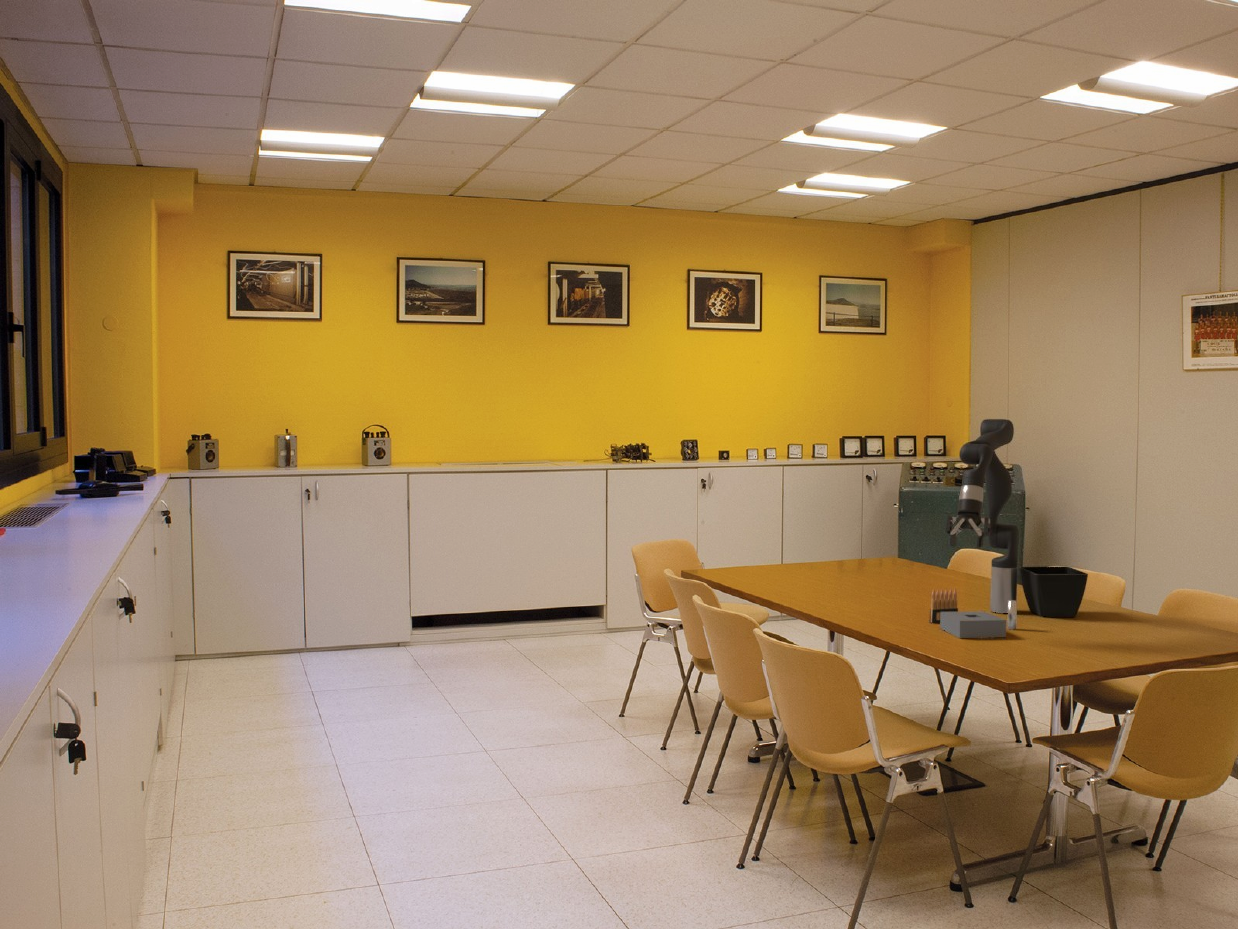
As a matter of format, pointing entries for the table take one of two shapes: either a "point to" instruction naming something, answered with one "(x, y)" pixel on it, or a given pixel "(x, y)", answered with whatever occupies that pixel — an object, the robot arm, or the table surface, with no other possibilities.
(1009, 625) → the metal pin
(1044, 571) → the flower pot
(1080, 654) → the table surface
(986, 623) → the socket block
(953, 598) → the ammunition clip
